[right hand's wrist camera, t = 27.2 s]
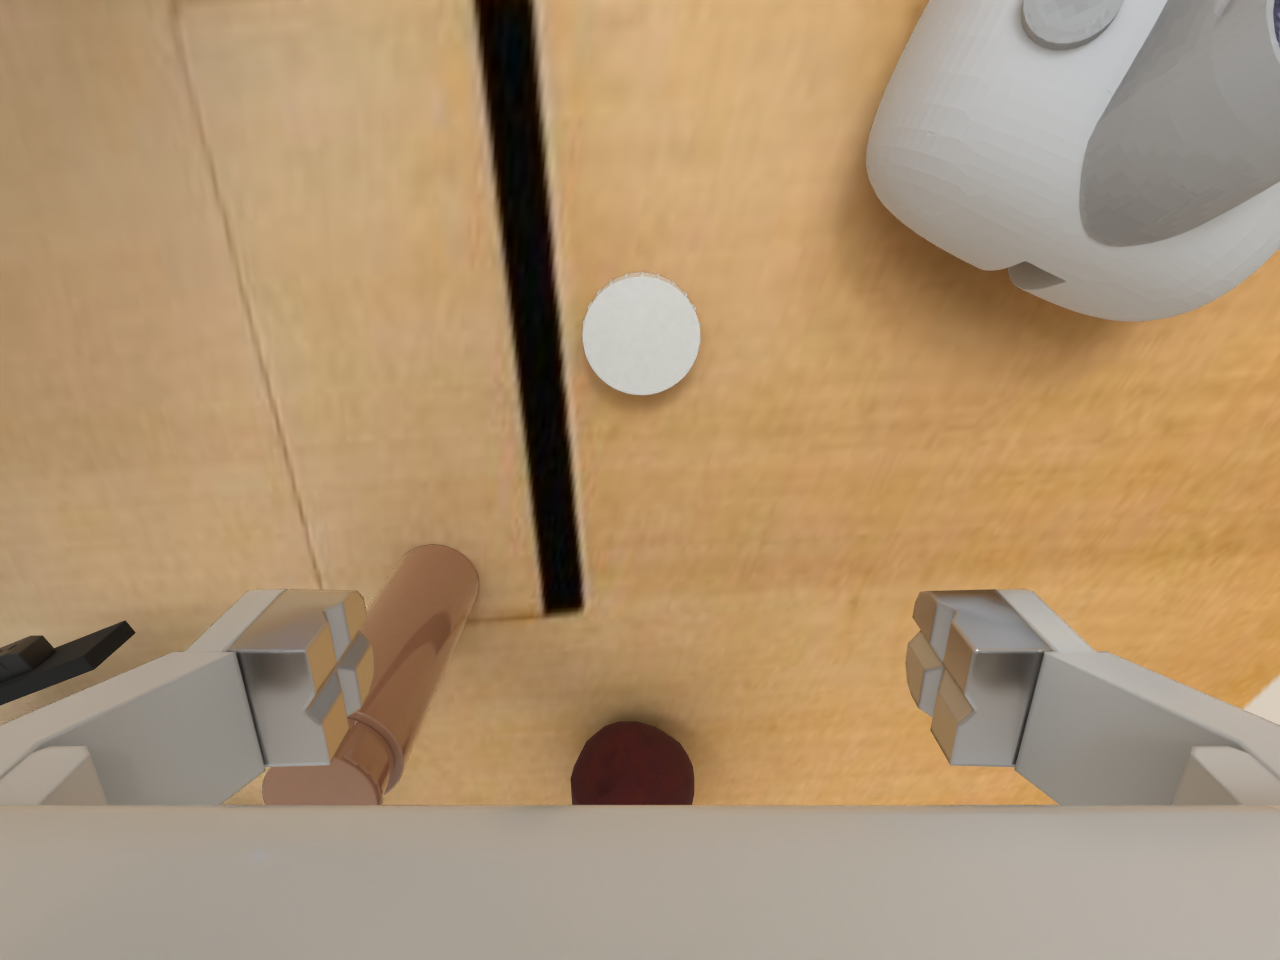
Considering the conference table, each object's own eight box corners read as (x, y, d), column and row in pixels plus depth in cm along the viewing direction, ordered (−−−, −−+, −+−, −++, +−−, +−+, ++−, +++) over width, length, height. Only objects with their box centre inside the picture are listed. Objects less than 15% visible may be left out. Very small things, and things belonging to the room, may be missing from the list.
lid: (704, 275, 34) (709, 280, 32) (691, 390, 36) (695, 401, 34) (587, 265, 34) (584, 269, 32) (581, 381, 36) (577, 392, 34)
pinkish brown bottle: (449, 631, 42) (343, 866, 27) (379, 587, 40) (228, 806, 26) (495, 575, 40) (411, 791, 25) (424, 528, 39) (292, 724, 24)
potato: (618, 806, 46) (614, 904, 40) (552, 728, 44) (536, 819, 37) (713, 760, 45) (725, 855, 38) (650, 677, 43) (652, 763, 36)
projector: (1382, 180, 32) (1926, 159, 19) (908, 381, 36) (1074, 488, 22) (1346, -428, 25) (2201, -1197, 11) (753, -99, 28) (859, -384, 15)
